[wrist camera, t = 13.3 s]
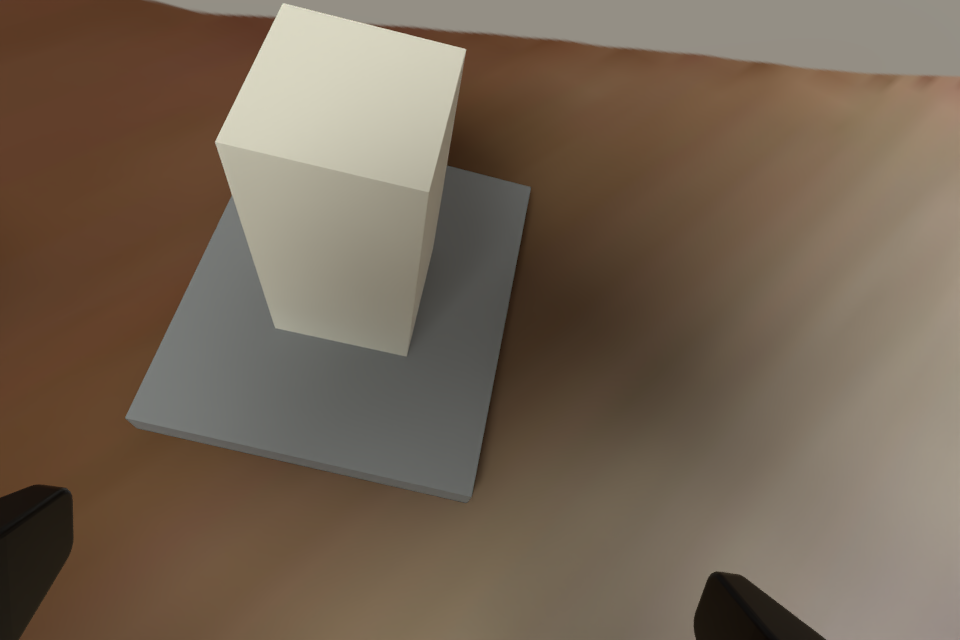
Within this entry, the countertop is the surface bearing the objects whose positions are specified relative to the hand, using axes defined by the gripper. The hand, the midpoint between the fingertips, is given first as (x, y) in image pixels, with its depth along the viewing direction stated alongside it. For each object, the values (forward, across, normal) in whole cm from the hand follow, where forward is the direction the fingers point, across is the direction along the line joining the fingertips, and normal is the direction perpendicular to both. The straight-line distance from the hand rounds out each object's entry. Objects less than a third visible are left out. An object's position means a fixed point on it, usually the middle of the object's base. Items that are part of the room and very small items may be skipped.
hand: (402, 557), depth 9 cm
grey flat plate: (+17, +3, +2) cm, 18 cm away
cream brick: (+16, +3, +1) cm, 17 cm away
